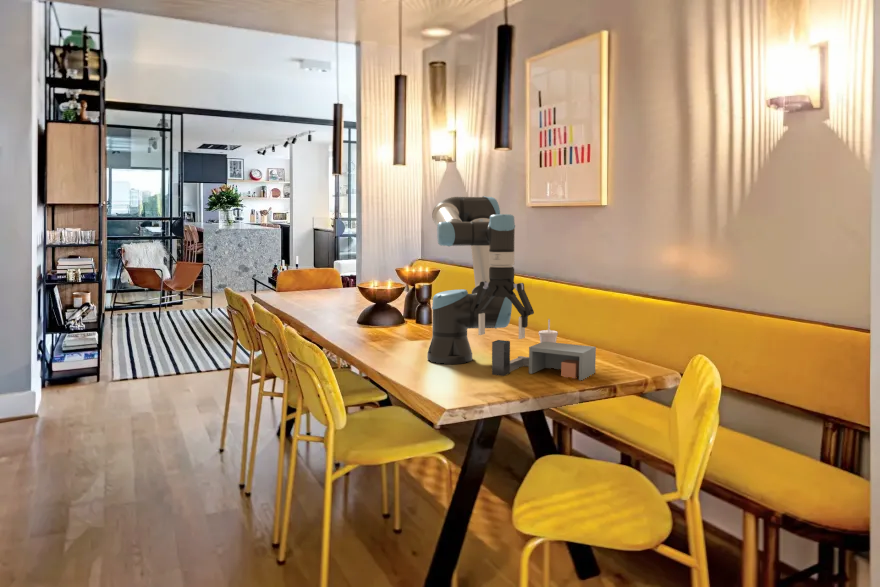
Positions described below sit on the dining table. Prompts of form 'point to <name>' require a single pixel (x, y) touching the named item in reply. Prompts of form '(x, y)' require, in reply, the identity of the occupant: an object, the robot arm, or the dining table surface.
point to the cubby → (562, 357)
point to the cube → (570, 368)
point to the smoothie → (548, 334)
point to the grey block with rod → (505, 359)
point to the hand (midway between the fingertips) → (501, 336)
